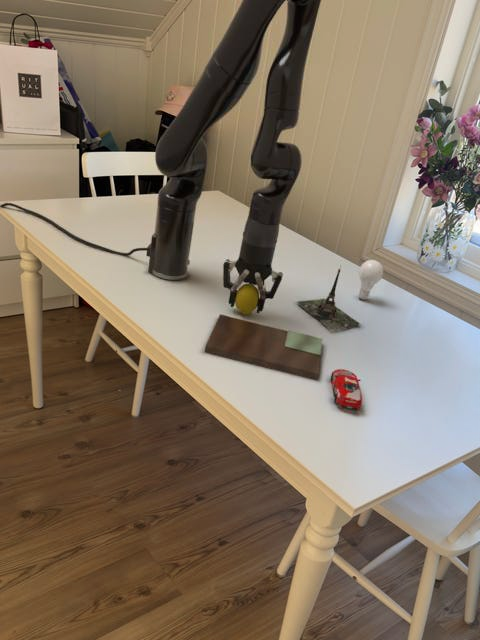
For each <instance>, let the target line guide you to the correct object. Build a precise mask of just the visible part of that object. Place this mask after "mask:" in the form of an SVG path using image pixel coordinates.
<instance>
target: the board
mask: <svg viewBox="0 0 480 640" xmlns="http://www.w3.org/2000/svg"><path fill="white" fill-rule="evenodd" d="M322 346H323V338H322V337H317V336H314V335H309V334H305V333H301V332H297V331H293V330H290V329H288V330H286V329H282V328H277V327H273V326H270V325H265V324H261V323H257V322H253V321H250V320H246V319H241V318H238V317H233V316H229V315H225V314H219V315H218V318H217V320H216V322H215V324H214V327H213V329H212V331H211V333H210V336H209V337H208V340H207V342H206V344H205V347H204V353H207V354H211V355H215V356H219V357H222V358H227V359H231V360H235V361H239V362H242V363H248V364H250V365H255V366H260V367H264V368H267V369H271V370H275V371H279V372H283V373H287V374H291V375H295V376H298V377H299V376H300V377H303V378H308V379H311V380H316V381H317V380H318V377H319V371H320V363H321V355H322V348H323V347H322Z"/></svg>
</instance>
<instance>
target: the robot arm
mask: <svg viewBox="0 0 480 640" xmlns="http://www.w3.org/2000/svg"><path fill="white" fill-rule="evenodd" d="M285 2H287V3H286V5H287V6H286V7H287V8H286V12H287V13H286V21H285V22H286V23H285V28H284V32H283V36H282V39H281V41H280V44H279V47H278V49H277V50H276V51H277V52H276V53H275V56H274V58H273V60H272V63H271V65H270V68H269V71H268V74H267V78H266V84H265V91H264V100H263V101H264V103H263V114H262V118H261V121H260V124H259V127H258V130H257V134H256V136H255V140H254V142H253V145H252V148H251V151H250V159H249V160H250V161H249V162H250V168H251V171H252V173H253V174H254V176H255V177H256V178H258V179H260V180H270V181H269V183H268V184H267V185H265V186H262V187H259V188H257V189H255V190H254V191H253V192H252V194H251V199H250V204H249V210H248V215H247V218H246V221H245V224H244V230H243V232H242V239H241V244H240V250H239V256H238V258H237V259H236V261H235V260H234V261H233V260H230V259H228V258H227V259H225V261H224V262H223V265H222V279H223V280H222V281H223V283H222V285H223V288H224V289H228V290H229V291H230V293H229V297H228V305H230V307H231V308H234V307H235V306H236V304H235V298H236V294H237V291H238V289H239V288H240V287H241V286H242V283H245V284H249V283H251V284H253V285H254V286H257V289H258V291H259V302H258V306H257V308H256V310H255V313H256V314H260V312H263V310H264V308H265V303H266V300H268V299H269V300H273V299H274V297H275V295H276V293H277V291H278V288H279V286H280V284H281V282H282V280H283V276H284V274H283V272H282V271H279V272H277V271H275V270H273V266H272V264H273V261H274V260H273V259H274V255H275V251H276V247H277V243H278V238H279V232H280V225H281V224H280V223H281V219H282V216H283V209H284V205H285V203H286V201H287V199H288V197H289V195H290V193H291V191H292V189H293V187H294V185H295V183H296V181H297V180H298V177H299V175H300V172H301V168H302V163H303V161H302V160H303V159H302V158H303V157H302V153H301V151H300V148H299V147H298V146H297V145H296V144H295V143H290V142H284V141H283V142H282V141H279V138H280V136H281V134H282V132H283V131H288V130H292V129H294V128H296V126H297V125H298V123H299V116H300V110H301V109H300V108H301V100H302V91H303V83H304V75H305V71H306V64H307V60H308V59H307V58H308V55H309V50H310V46H311V42H312V38H313V34H314V30H315V26H316V22H317V18H318V14H319V10H320V6H321V3H322V0H242V1H241V3H240V5H239V7H238V9H237V11H236V12H235V14H234V16H233V18H232V20H231V22H230V23H229V25H228V27H227V29H226V31H225V33H224V34H223V37H221V40H220V41H219V43H218V44H217V46H216V48H215V50H214V51H213V53H212V54H211V57H209V59H208V61H207V64H206V65H205V67H204V68H203V71H202V73H201V75H200V76H199V79H198V80H197V81H196V84H195V85H194V87H193V88H192V90H191V92H190V94H189V96H188V97H187V99H186V101H185V102H184V104H183V106H182V108H181V109H180V110H179V112H178V113H177V115H176V116H175V118H174V119H173V121H171V123H170V125H169V126H168V127H167V128H166V130H165V131H164V133H163V134H162V135H161V136H160V139H159V141H158V142H157V145H156V148H155V152H154V154H155V155H154V159H155V165H156V167H157V170H158V171H159V173H161V175H163V176H165V177H166V178H169V180H168V181H167V182H166V184H165V185H163V187H161V188H160V189H159V191H158V194H157V205H156V213H155V215H156V216H155V224H154V232H153V234H152V235H151V239H150V244H148V246H147V247H137V248H133V249H131V250H130V251H129V252H120V251H117V250H113V249H111V248H108V247H105V246H102V245H99V244H96V243H92V242H90V241H88V240H85V239H82V238H81V237H78V236H77V235H74V233H71V232H70V231H68V230H67V229H65V228H64V227H62V226H61V225H59V224H57V222H55V221H53V220H52V219H50V218H48V217H46V216H45V215H43V214H40V213H38V212H36V211H34V210H30V209H27V208H25V207H22V206H20V205H18V204H16V203H12V202H5V203H2V204H0V208H4V207H7V206H8V207H9V206H10V207H14V208H15V209H19V210H21V211H23V212H25V213H29V214H32V215H33V216H36V217H38V218H41V219H43V220H45V221H46V222H48V223H49V224H51V225H53V226H54V227H56V228H57V229H59V230H60V231H62V232H63V233H65V234H66V235H68V236H69V237H71V238H73V239H75V240H76V241H79V242H81V243H83V244H85V245H88V246H91V247H94V248H96V249H100V250H103V251H105V252H108V253H111V254H114V255H115V254H116V255H118V256H124V257H127V256H128V257H129V256H131V255H132V254H134V253H136V252H143V251H145V252H146V257H149V260H148V270H147V272H148V273H149V274H153V275H154V276H155V277H157V278H160V279H163V280H169V281H180V280H181V281H182V280H184V279H186V278H187V276H188V269H189V266H190V262H191V261H190V254H191V247H192V240H193V239H192V238H193V232H194V226H195V219H196V211H197V204H198V202H199V200H200V198H201V196H202V193H203V189H204V183H205V178H206V173H207V169H208V168H207V167H208V159H209V157H208V156H209V154H208V153H209V152H208V147H207V144H206V141H205V140H204V136H205V135H206V134H207V132H208V131H209V130H210V129H211V128H212V127H213V126H214V125H216V124H217V123H218V122H219V121H220V120H221V119H223V118H224V117H225V116H226V115H227V114H228V113H229V112H230V111H232V110H233V109H234V108H235V107H236V106H237V105H238V103H240V101H241V100H242V98H243V97H244V95H245V94H246V92H247V91H248V89H249V88H250V86H251V84H252V83H253V82H254V80H255V77H256V76H257V74H258V71H259V67H260V63H261V58H262V51H263V45H264V39H265V36H266V33H267V30H268V28H269V26H270V24H271V22H272V21H273V19H274V17H275V16H276V15H277V13H278V11H279V10H280V8H281V7H282V6H283V4H284V3H285ZM234 268H236V272H237V274H238V276H237V278H236V279H235V281H234V282H232V281H231V272H232V271H233V269H234ZM269 277H271V281H272V283H273V284H272V286H271V287H270V290H268V291H267V287H266V280H267V279H268V278H269Z"/></svg>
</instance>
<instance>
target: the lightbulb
mask: <svg viewBox="0 0 480 640" xmlns="http://www.w3.org/2000/svg"><path fill="white" fill-rule="evenodd" d="M384 271H385V270H384V267H383V265H382V263H381V262H380V261H378V260H376V259H367V260H365V261H364V262H363V263H362V264H361V265H360V267H359V269H358V276H359V280H360V289H359V292H358V295H357V296H358V298H359V299H360V300H362V301H364V300H368V298H369V297H370V293H371V291H372V290H373V288H374V286H375V285H377V284H378V283H379V282H380V281H381V280H382V279H383V276H384Z"/></svg>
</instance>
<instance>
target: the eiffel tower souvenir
mask: <svg viewBox="0 0 480 640" xmlns="http://www.w3.org/2000/svg"><path fill="white" fill-rule="evenodd" d="M341 266H342V265H340V267H339V268H338V270H337V272H336V273H337V274H336V276H335V279H334V282H333V284H332V287H331V289H330V292H329V293H328V296H327V297H326V299H325V298H320V299H319V298H318V299H310V300H298V301H296V303H297V304H298V305H299V306H300V307H301V308H302V309H303V310H304V311H306V312H307V313H309V314H310V315H311V316H312V317H314V318H316V319H317V320H318V321H319V322H320V323H321V324H322V325H324V327H325V328H326V329H328V330H329V331H330V332H331V333H336V332H339V331H345V330H348V329H350V328H354V327H357V326H362V324H361V323H360V322H358V321H357V320H356V319H354V318H353V317H351V316H350V315H348V314H347V313H346V312H345V311H343V310H342V309H340V308H339V307H337V306H336V301H335V298H336V289H337V284H338V280H339V276H340V273H341V268H342V267H341ZM330 299H331V300H330Z"/></svg>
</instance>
